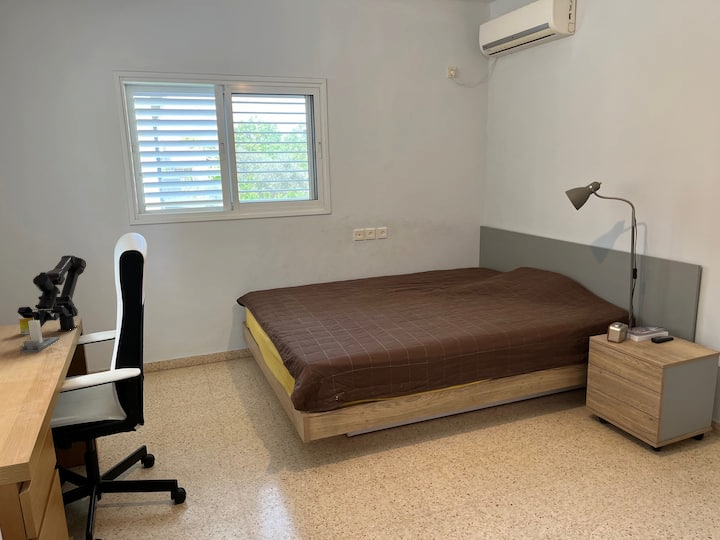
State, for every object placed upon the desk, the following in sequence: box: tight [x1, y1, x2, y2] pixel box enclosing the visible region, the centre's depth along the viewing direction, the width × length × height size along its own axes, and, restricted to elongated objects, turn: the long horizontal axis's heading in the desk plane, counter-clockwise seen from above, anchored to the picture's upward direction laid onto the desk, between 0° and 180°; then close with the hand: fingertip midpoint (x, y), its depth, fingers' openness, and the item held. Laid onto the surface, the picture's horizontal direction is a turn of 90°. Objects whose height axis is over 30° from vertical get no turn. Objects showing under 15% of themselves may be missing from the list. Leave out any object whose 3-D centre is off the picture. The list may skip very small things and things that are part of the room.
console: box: [19, 336, 60, 354], centre depth 212 cm, size 16×7×4 cm, turn 2°
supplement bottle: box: [17, 314, 34, 335], centre depth 231 cm, size 6×6×10 cm
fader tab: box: [28, 319, 44, 346], centre depth 209 cm, size 4×4×10 cm
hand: (37, 329), depth 211 cm, fingers closed, pressing on fader tab
